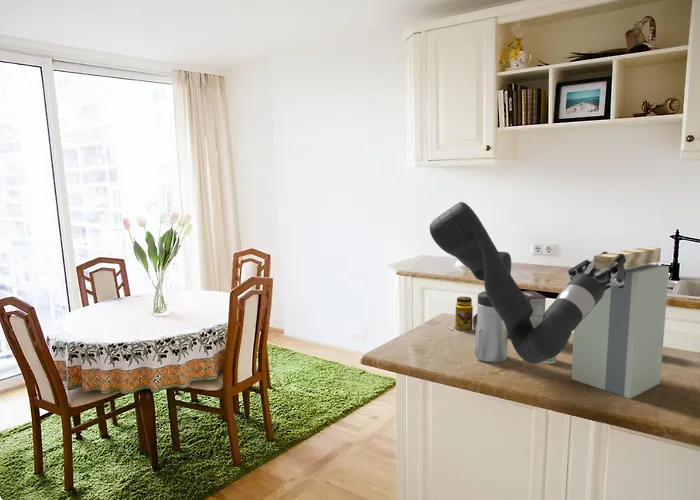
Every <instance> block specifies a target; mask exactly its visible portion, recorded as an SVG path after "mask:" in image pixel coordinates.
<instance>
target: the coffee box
mask: <svg viewBox="0 0 700 500" xmlns="http://www.w3.org/2000/svg"><path fill="white" fill-rule="evenodd" d="M521 291H522V290H521ZM522 293H523V294H524V295H525V297H526V298H527V300H528V301H529V303H530V304H531V306H532V308H533V313H532V315H531V316H530V321H531V323H532V326H533V328H536V327H537V326H538V325H539V324H540V323H541V322H542V321H543V315H544V313H545V312H546V299H547V298H546V296H545V295H542V294H541V293H538V292H537V291H534V290H523V291H522Z"/></svg>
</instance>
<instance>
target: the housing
mask: <svg viewBox="0 0 700 500" xmlns="http://www.w3.org/2000/svg"><path fill="white" fill-rule="evenodd" d="M584 268H585V266H584V267H583V269H584ZM669 271H670V266H669V265H659V264H654V263H649V264H645V265H640V266H635V267H630V268H625V272H626V278H625V286H624V288H619V287H618V286H611V287H610V288H609V289H607V290H605V292H604V294H603V297H602V298H601V299H600V300H599V302H598V303H597V304H596V305H595V307H594V308H593V309H592V310H591V312H590V313H589V314H588V315H587V316H586V317H585V318H584V319H583V320H582V321H581V322H580V323H579V324H578V326H577V327H576V328H575V329H574V330H573V338H572V339H573V340H572V341H573V342H572V357H571V359H572V361H571V380H573V381H577V382H580V383H583V384H585V385H589V386H591V387H594V388H597V389H600V390H603V391H606V392H609V393H613V394H615V395H619V396H621V397H623V398H627V399H633V398H634V397H637V396H638V395H640V394H642V393H644V392H645V391H648V390H649V389H651V388H654V387H655V386H658V385H660V384H661V379H662V378H661V374H662V365H663V364H662V361H663V348H664V337H665V325H666V324H665V323H666V311H667V300H668V299H667V296H668V286H669V273H670V272H669ZM615 276H617V274H616V275H615ZM615 276H614V278H615ZM612 280H613V279H612Z"/></svg>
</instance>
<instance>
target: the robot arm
mask: <svg viewBox="0 0 700 500" xmlns="http://www.w3.org/2000/svg"><path fill="white" fill-rule="evenodd" d="M429 233H430V236H431V238H432V240H433V241H434V243H436V245H437V246H438V247H439V248H440V249H442V250H443V251H444V252H445V253H447V254H448V255H450V256H453V257H454V258H456V259H457V260H458V261H459V262H460V263H462V265H464V266H465V267H467V268H468V269H469V270H470V271H471V273H472V275H473V276H474V277H475V279H477V280H479V281H482V282H484V284H483V285H484V291H481V292H479V293H478V295H477V306H476V307H477V310H476V311H477V312H476V314H477V325H476V330H475V331H474V332H475V335H474V339H475V341H474V342H475V343H474V345H475V346H474V355H475V357H476V359H477V361H482V362H483V361H484V362H487V363H502V362H505V361H507V359H508V344H509V343H508V341H509V340H510V342H511V345H512V346H513V349H514V350H515V352H516V353H517V355H518V356H519V357H520V359H522V360H523V361H524V362H526V363H528V364H531V365H537V364H541V363H542V362H543V361H546V360H548V359H551V358H553V357H555V356H556V357H557V356H558V355H559V354H560V353H561V352H562V351H563V350H564V348H565V347H566V346H567V344H568V342H569V340H570V337H571V336H572V333H573V332H574V329H575V328H576V327H577V326H578V324H579V323H580V322H581V321H582V320H583V319H584V318H585V317H586V316H587V315H588V314H589V313H590V312H591V310H592V309H593V308H594V307H595V305H596V304H597V303H598V302H599V300H600V299H601V298H602V297H603V294H604V292H605V290H607V289H609V288H610V287H611V286H618V287H619V288H624V286H625V278H626V272H625V268H624V263H625V262H626V260H625V256H624V254H619V255H618V257H617V258H616V259H615V260H614V261H613V263H612V264H611V265H610V266H605V267H604V268H603V269H601V270H597V269H595V264H594V259H592V260H591V261H590V260H589V259H585V260H583V261H581V262H580V263H578V264H576V265H575V266H573V267H571V268H570V269H568V270H567V273H568V276H569V279H570V281H569V282H568V283H567V285H565V286H564V288H563V289H562V290H561V291H560V293H558V295H557V297H556V299H554V301H553V302H552V304H551V305H550V306H548V308H547V309H545V313H544V315H543V321H542V322H541V323H540V324H539V325H538V326H537V327H536V328H533V326H532V323H531V321H530V316H531V315H532V313H533V308H532V306H531V304H530V303H529V301H528V300H527V298H526V297H525V295H524V294H523V293H522V290H521V288H520V287H519V285H518V284H517V282H516V281H515V280H514V278H513V276H512V275H511V274H512V257H511V254H510V253H509V252H507V251H498V249H497V247H496V245H495V243H494V242H493V240H492V239H491V237H490V235H489V233H488V231H487V230H486V227H484V225H483V223H482V221H481V220H480V218H479V217H478V216H477V214H476V213H475V211H474V210H473V209H472V208H471V206H470V205H468V204H467V203H465V202H463V201H459V202H457V203H456V204H454V205H453V206H451V207H450V208H449V209H447V210H445V211H444V212H443V213H441V214H440V215H438V216H437V217H436V218H434V219H433V220H432V221H431V223H430V225H429ZM608 253H609V252H608V251H603V252H602V253H599V255H602V254H608ZM584 266H585V268H584V269H583V267H584ZM612 270H613V271H612ZM616 274H617V276H615V275H616ZM614 276H615V278H614ZM612 279H613V280H612ZM508 334H509V336H508ZM508 337H509V338H508ZM508 339H509V340H508Z"/></svg>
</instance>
